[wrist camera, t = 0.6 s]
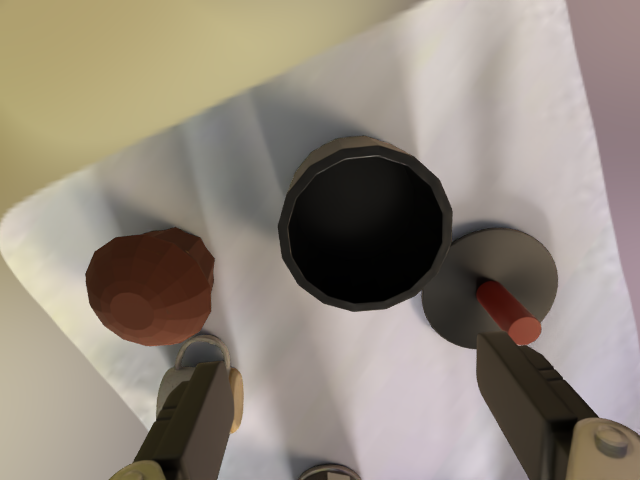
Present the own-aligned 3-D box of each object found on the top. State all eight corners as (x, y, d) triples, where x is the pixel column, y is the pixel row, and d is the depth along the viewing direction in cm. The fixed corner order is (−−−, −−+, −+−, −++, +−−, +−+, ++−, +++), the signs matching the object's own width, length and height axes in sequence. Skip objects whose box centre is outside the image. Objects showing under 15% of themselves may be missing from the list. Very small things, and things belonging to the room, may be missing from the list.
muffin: (249, 265, 42) (228, 312, 32) (187, 329, 44) (151, 389, 35) (160, 192, 39) (109, 219, 29) (100, 264, 42) (35, 310, 32)
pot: (420, 259, 41) (450, 304, 32) (296, 269, 42) (289, 317, 32) (420, 129, 37) (454, 137, 27) (280, 143, 37) (267, 155, 28)
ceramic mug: (249, 402, 48) (236, 454, 40) (184, 405, 48) (160, 458, 41) (238, 328, 44) (222, 370, 37) (168, 332, 45) (139, 375, 37)
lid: (544, 338, 45) (595, 390, 37) (420, 348, 45) (442, 401, 37) (559, 219, 40) (620, 249, 32) (419, 232, 40) (445, 264, 32)
